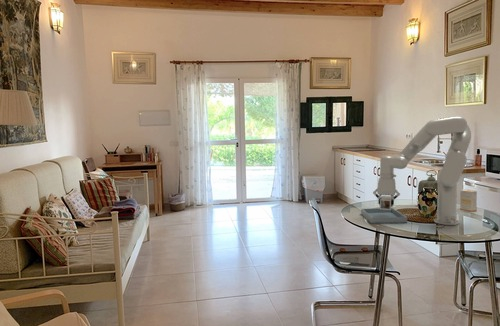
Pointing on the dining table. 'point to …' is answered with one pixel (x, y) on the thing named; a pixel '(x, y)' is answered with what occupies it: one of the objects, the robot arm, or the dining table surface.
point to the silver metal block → (382, 204)
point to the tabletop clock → (428, 182)
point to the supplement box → (468, 200)
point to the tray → (383, 216)
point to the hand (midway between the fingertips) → (386, 205)
